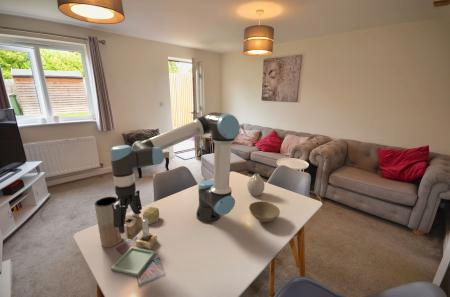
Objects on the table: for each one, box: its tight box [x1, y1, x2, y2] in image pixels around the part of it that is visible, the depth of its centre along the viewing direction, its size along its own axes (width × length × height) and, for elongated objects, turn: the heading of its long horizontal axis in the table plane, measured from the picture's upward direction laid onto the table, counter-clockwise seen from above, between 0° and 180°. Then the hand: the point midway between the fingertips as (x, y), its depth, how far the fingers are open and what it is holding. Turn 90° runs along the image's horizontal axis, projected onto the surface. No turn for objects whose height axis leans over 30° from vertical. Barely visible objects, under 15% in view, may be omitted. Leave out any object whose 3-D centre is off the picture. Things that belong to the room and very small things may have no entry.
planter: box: [94, 195, 123, 248], centre depth 101 cm, size 10×10×23 cm
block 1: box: [117, 214, 143, 240], centre depth 87 cm, size 7×7×6 cm
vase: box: [246, 173, 265, 197], centre depth 153 cm, size 13×13×17 cm
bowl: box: [248, 200, 281, 223], centre depth 122 cm, size 18×18×8 cm
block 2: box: [135, 232, 158, 250], centre depth 101 cm, size 7×7×4 cm
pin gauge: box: [141, 218, 150, 242], centre depth 100 cm, size 3×3×14 cm
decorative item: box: [142, 206, 160, 225], centre depth 121 cm, size 10×10×10 cm
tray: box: [110, 245, 156, 277], centre depth 91 cm, size 13×13×2 cm
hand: (130, 232), depth 87 cm, fingers closed on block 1, 7 cm apart
